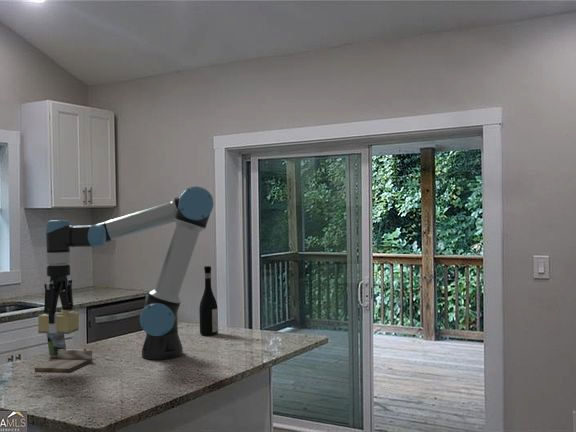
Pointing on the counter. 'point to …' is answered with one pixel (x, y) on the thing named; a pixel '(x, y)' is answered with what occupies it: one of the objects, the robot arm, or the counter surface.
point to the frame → (59, 323)
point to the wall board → (67, 361)
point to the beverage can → (55, 343)
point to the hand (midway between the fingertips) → (59, 330)
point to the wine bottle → (208, 308)
